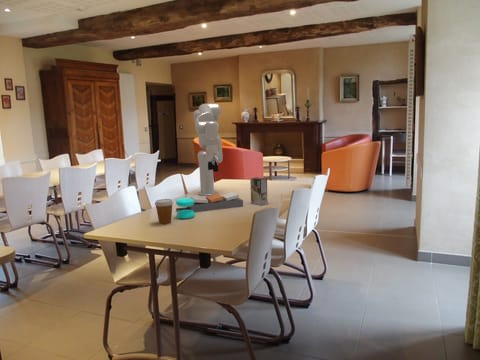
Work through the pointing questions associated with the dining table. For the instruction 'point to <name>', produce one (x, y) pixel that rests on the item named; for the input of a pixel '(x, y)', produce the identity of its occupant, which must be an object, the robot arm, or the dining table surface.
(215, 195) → the rocker middle orange
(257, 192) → the coffee box
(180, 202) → the donuts
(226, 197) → the rocker far grey
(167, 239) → the dining table surface
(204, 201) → the rocker near grey
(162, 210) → the disposable coffee cup
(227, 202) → the long grey tray
